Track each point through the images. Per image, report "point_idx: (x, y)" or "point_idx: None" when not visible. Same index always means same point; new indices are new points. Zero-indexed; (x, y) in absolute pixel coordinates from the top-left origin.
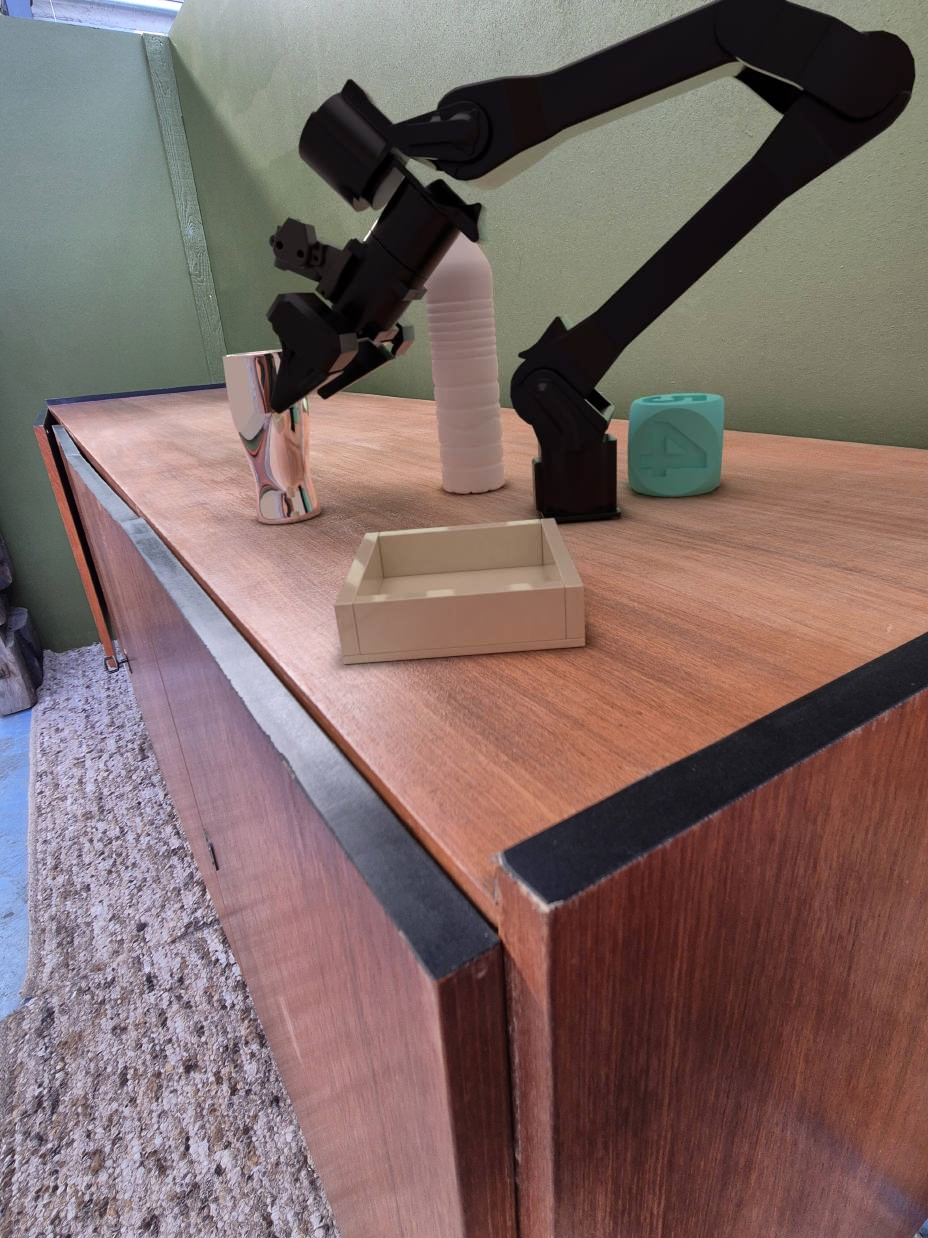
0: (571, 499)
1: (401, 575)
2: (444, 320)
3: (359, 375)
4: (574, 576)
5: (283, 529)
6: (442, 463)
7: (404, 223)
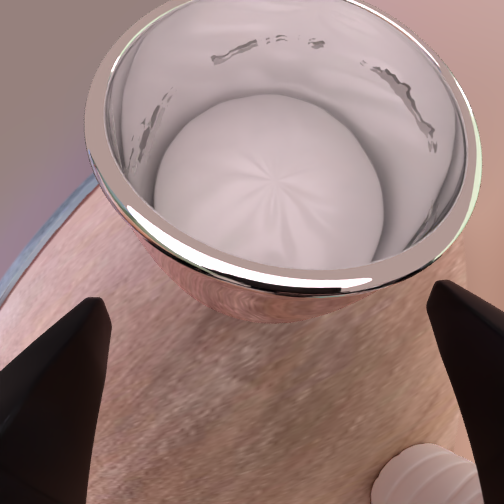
0: None
1: None
2: None
3: (473, 439)
4: None
5: (178, 295)
6: (413, 470)
7: None
